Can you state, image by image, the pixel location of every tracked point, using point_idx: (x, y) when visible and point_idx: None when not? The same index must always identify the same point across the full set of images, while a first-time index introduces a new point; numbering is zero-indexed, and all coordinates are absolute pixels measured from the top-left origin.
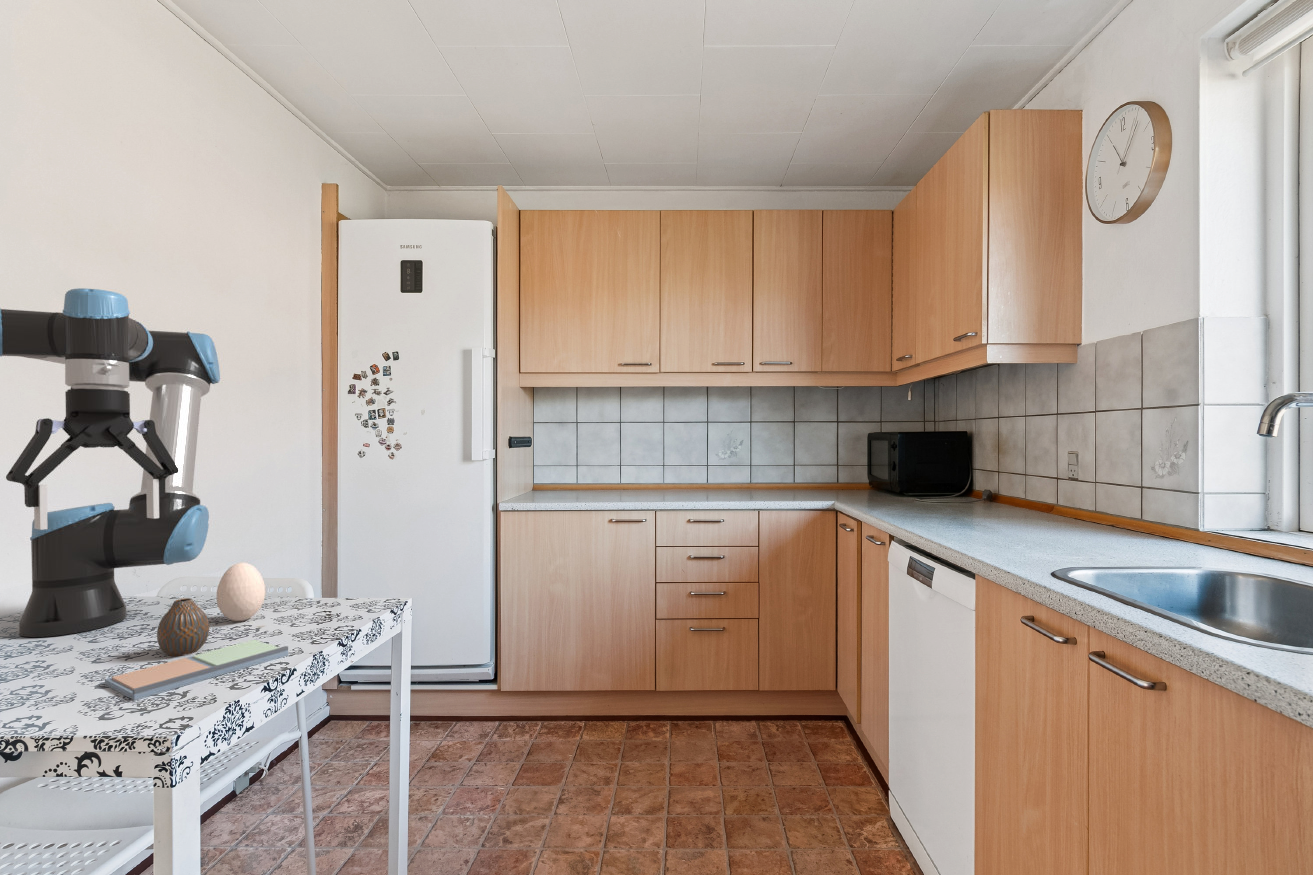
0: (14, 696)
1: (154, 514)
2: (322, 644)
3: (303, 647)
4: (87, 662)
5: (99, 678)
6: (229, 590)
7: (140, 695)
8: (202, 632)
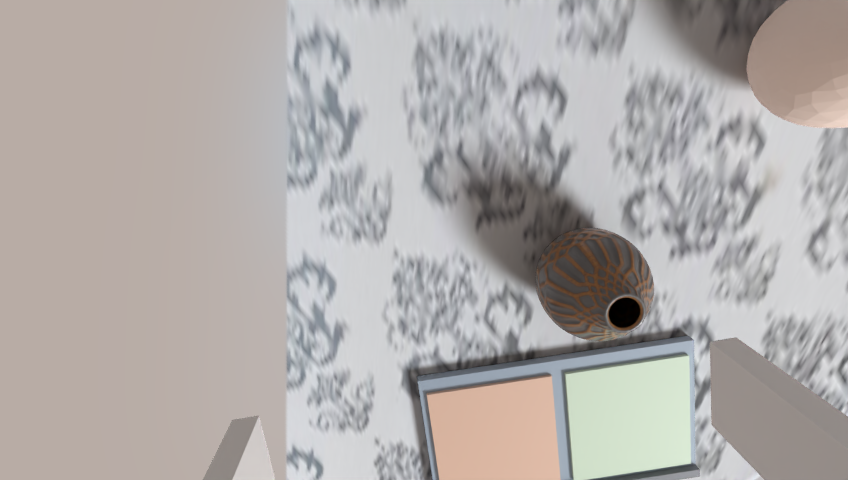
0: (290, 316)
1: (727, 438)
2: None
3: None
4: (416, 169)
5: (416, 324)
6: (802, 106)
7: None
8: (617, 321)
